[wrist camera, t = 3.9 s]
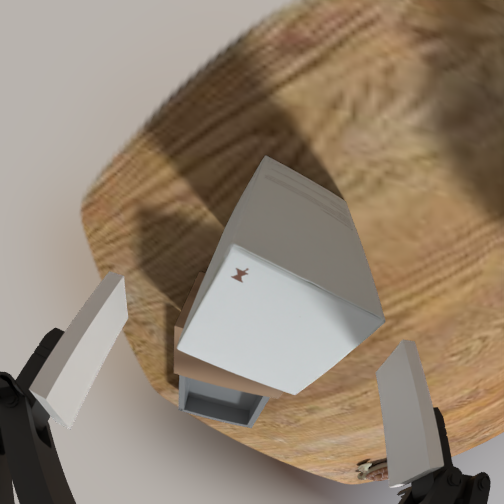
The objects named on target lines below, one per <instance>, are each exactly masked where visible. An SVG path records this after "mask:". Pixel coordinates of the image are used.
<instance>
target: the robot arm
mask: <svg viewBox="0 0 504 504" xmlns="http://www.w3.org/2000/svg"><path fill="white" fill-rule="evenodd" d="M127 319H128V312H127V303H126V294H125V283H124V276H123V275H120V274H116V273H113V272H110V271H109V272H108V274H107V275H106V276H105V278H104V279H103V280H102V281H101V283H100V284H99V285H98V287H97V288H96V289H95V291H94V292H93V293H92V295H91V296H90V298H89V299H88V300H87V301H86V303H85V304H84V306H83V307H82V308H81V310H80V311H79V312H78V314H77V315H76V317H75V318H74V320H73V321H72V323H71V324H70V325H69V327H68V328H67V330H66V331H65V332H64V331H62V330H60V329H58V328H54V329H53V330H51V331H50V332H49V333H47V334H46V335H45V336H44V338H43V339H42V341H41V342H40V344H39V346H38V347H37V348H36V350H35V351H34V353H33V354H32V355H31V357H30V359H29V360H28V362H27V363H26V365H25V366H24V368H23V369H22V371H21V373H20V374H19V376H18V377H17V379H16V380H14V378H13V377H12V376H11V375H10V374H8V373H6V372H0V504H15V503H14V494H13V485H12V481H13V484H14V487H15V491H16V494H17V497H18V500H19V503H20V504H76V502H75V500H74V498H73V495H72V493H71V491H70V488H69V486H68V483H67V480H66V478H65V475H64V472H63V469H62V466H61V463H60V461H59V457H58V454H57V451H56V448H55V445H54V441H53V437H52V434H51V430H50V426H49V423H48V420H49V418H50V416H51V417H52V418H53V420H54V421H55V422H57V423H59V424H61V425H62V426H64V427H66V428H68V429H71V427H72V425H73V423H74V420H75V418H76V416H77V414H78V412H79V410H80V408H81V405H82V404H83V402H84V399H85V398H86V396H87V393H88V391H89V389H90V387H91V385H92V383H93V382H94V380H95V378H96V376H97V374H98V372H99V370H100V368H101V366H102V364H103V362H104V360H105V359H106V357H107V355H108V353H109V351H110V349H111V348H112V346H113V344H114V342H115V340H116V338H117V337H118V335H119V333H120V331H121V329H122V328H123V326H124V324H125V322H126V321H127ZM376 377H377V383H378V389H379V396H380V402H381V409H382V417H383V425H384V433H385V443H386V453H387V465H388V479H389V488H392V487H400V486H404V485H406V484H409V483H411V485H412V486H411V487H408V488H406V489H404V490H402V491H400V492H399V493H398V494H397V495H401V494H403V493H405V494H404V495H403V496H401V498H402V499H401V501H400V502H399V503H398V504H487V501H488V496H489V491H490V478H489V476H488V474H486V473H485V472H481V473H479V474H477V475H475V476H469V475H464V474H462V472H461V471H460V470H459V469H458V468H456V467H454V466H453V464H452V460H451V453H450V448H449V442H448V437H447V436H446V435H447V432H446V428H445V423H444V419H443V416H442V414H441V412H440V410H439V409H438V407H436V408H433V406H432V401H431V397H430V393H429V390H428V386H427V382H426V378H425V375H424V371H423V368H422V364H421V361H420V357H419V354H418V351H417V348H416V345H415V341H408V340H402V341H401V342H400V344H399V345H398V346H397V347H396V349H395V350H394V351H393V352H392V354H391V355H390V356H389V357H388V358H387V360H386V361H385V362H384V363H383V364H382V366H381V367H380V368H379V369H378V370H377V372H376Z"/></svg>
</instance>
